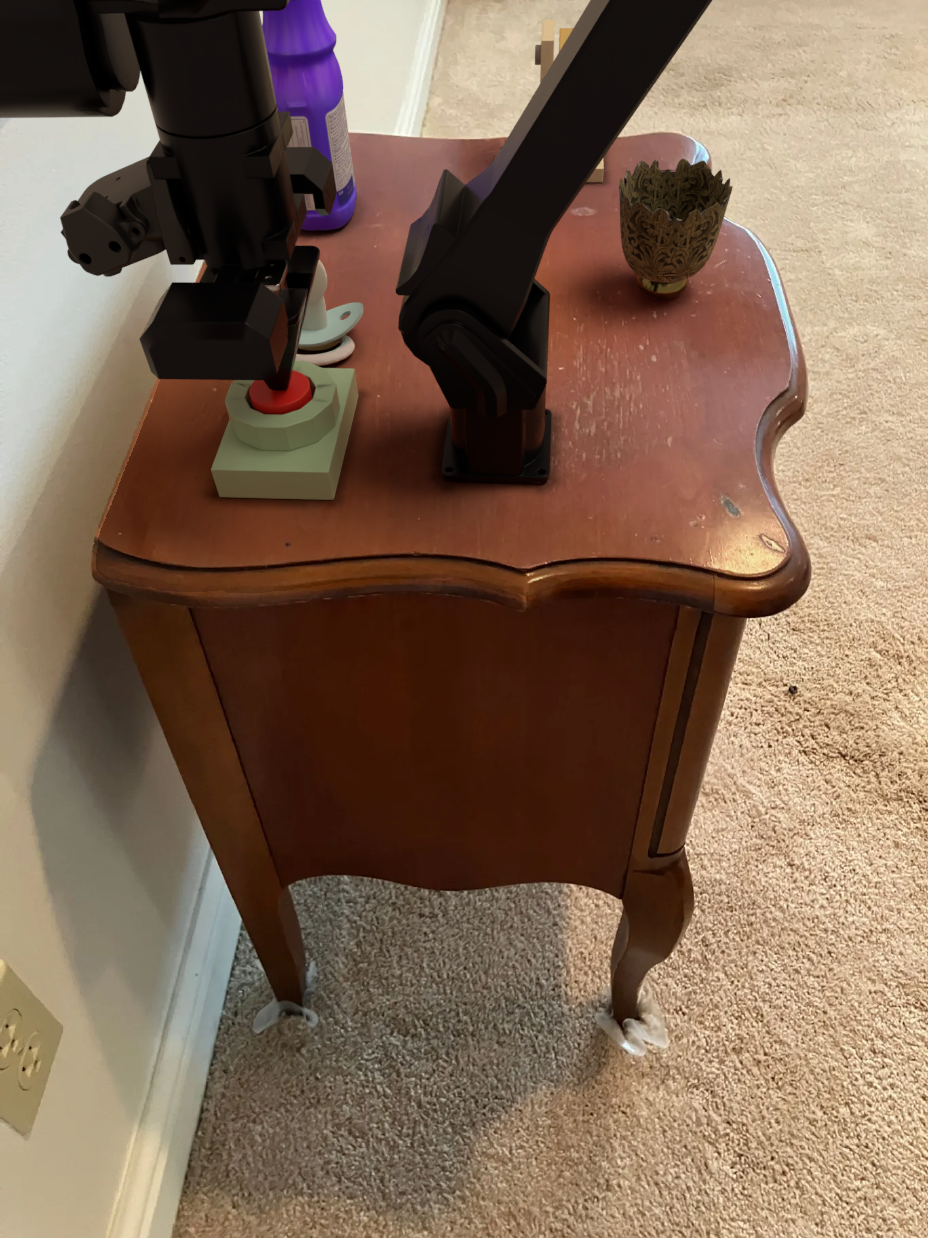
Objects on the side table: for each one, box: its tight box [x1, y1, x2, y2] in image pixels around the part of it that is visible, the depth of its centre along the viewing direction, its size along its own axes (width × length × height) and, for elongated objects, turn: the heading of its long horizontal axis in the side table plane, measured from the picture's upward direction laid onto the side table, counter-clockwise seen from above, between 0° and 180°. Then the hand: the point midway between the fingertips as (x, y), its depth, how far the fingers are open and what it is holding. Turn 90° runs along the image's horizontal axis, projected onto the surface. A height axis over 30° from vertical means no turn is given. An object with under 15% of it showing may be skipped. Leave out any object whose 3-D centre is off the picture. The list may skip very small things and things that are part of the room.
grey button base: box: [210, 361, 360, 501], centre depth 58 cm, size 10×7×4 cm
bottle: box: [261, 0, 358, 231], centre depth 71 cm, size 7×6×17 cm
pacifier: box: [295, 259, 364, 367], centre depth 64 cm, size 7×6×6 cm
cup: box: [618, 158, 733, 301], centre depth 66 cm, size 8×7×8 cm
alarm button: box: [249, 370, 313, 415], centre depth 57 cm, size 4×4×2 cm
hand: (280, 386), depth 56 cm, fingers closed, pressing on alarm button
